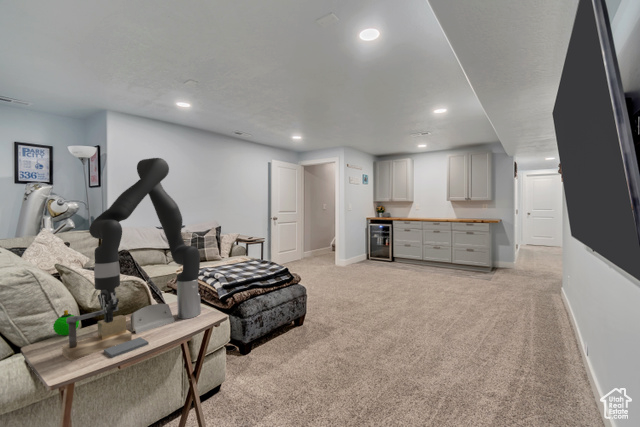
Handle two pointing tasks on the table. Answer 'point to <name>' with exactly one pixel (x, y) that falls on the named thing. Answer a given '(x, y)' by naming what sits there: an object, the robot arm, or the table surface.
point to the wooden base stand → (90, 343)
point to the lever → (85, 316)
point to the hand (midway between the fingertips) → (108, 321)
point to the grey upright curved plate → (151, 317)
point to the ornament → (63, 324)
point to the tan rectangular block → (112, 327)
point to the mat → (125, 347)
